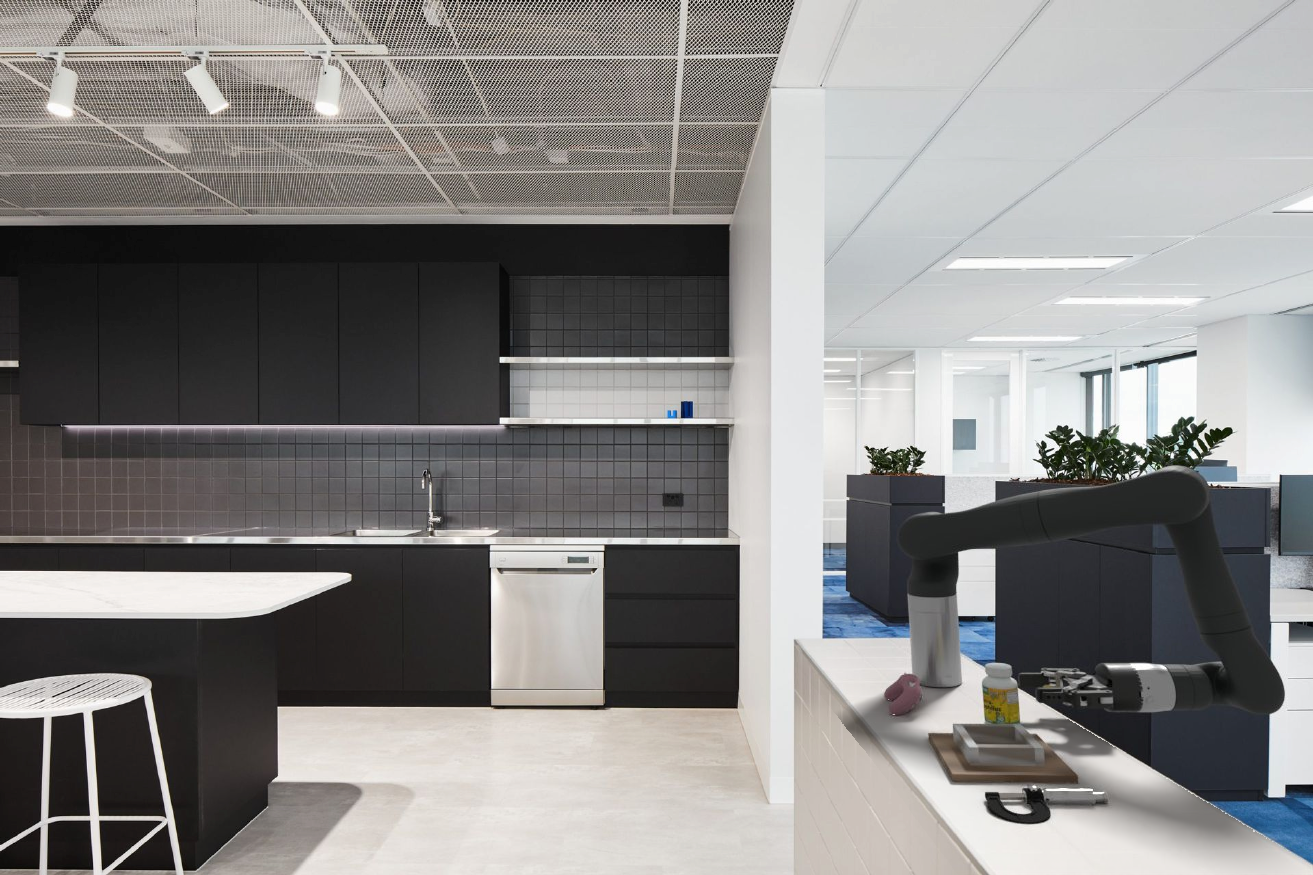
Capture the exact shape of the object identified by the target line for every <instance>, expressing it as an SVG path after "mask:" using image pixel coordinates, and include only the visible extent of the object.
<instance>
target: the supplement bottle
mask: <svg viewBox="0 0 1313 875" xmlns="http://www.w3.org/2000/svg"><path fill="white" fill-rule="evenodd" d="M984 667H985V668H984V670H985V671H984V672H985V674H986V675H987V676H985V677H983V678H982V680H981V688H982V700H983V701H982V702H983V714H984V715H983V716H984V724H1021V714H1020V712H1021V710H1020V699H1019V684H1018V681H1017V680H1016V679H1015V678H1013V677H1012V676H1013V669H1012V666H1011V665H1010V664H1007V663H1003V662H1002V663H1001V662H990V663H989V662H988V663H986V664H985V665H984Z"/></svg>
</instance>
